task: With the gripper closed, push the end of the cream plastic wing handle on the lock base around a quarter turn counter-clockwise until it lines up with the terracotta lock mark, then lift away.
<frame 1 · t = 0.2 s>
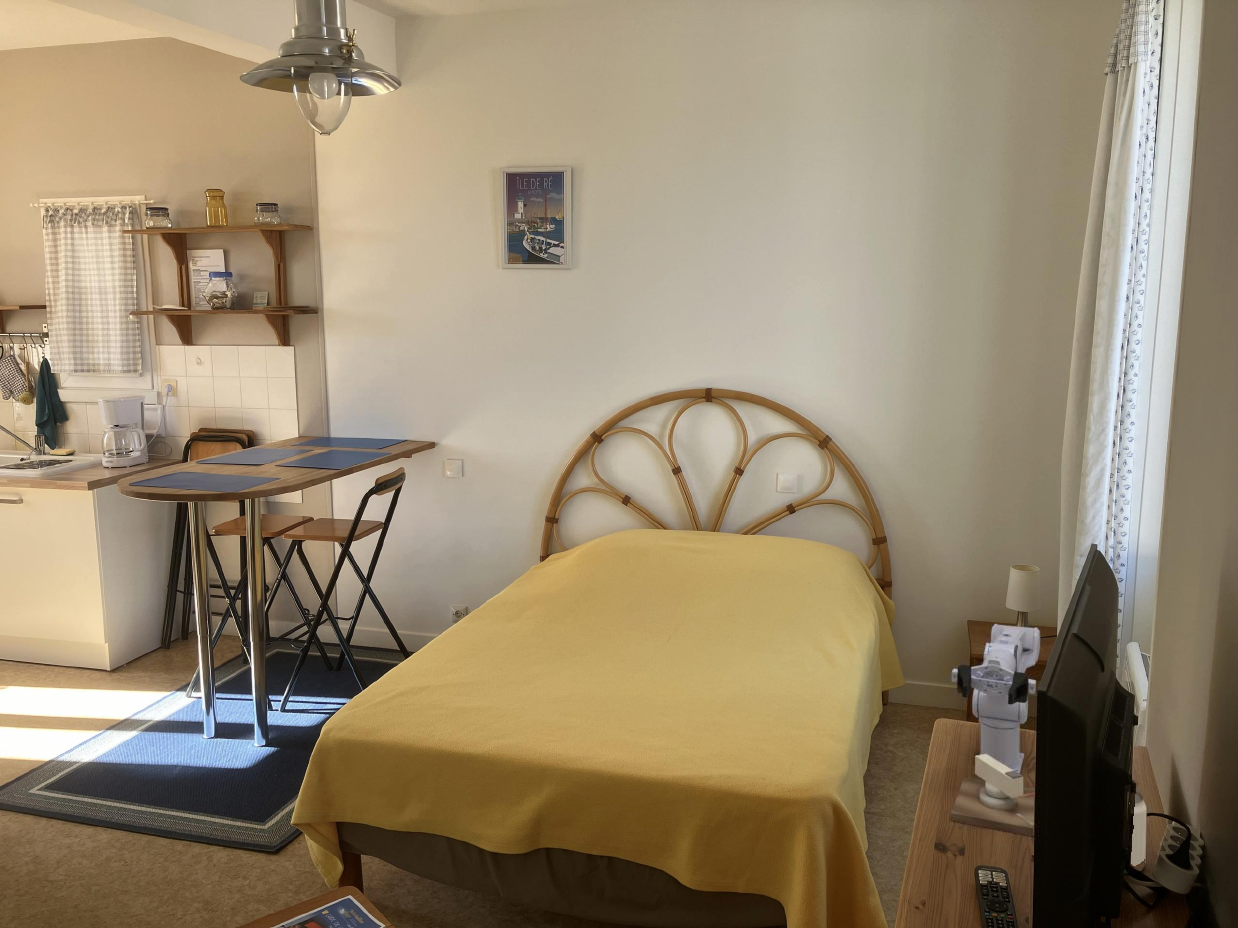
hand: (987, 695, 170), 21 cm above the tv stand, tool horizontal, fingers open, 7 cm apart
can: (1122, 865, 154), on the tv stand
lock base: (998, 809, 173), on the tv stand
lock handle: (998, 778, 172), point 6 cm above the tv stand, hinge at 0.0°
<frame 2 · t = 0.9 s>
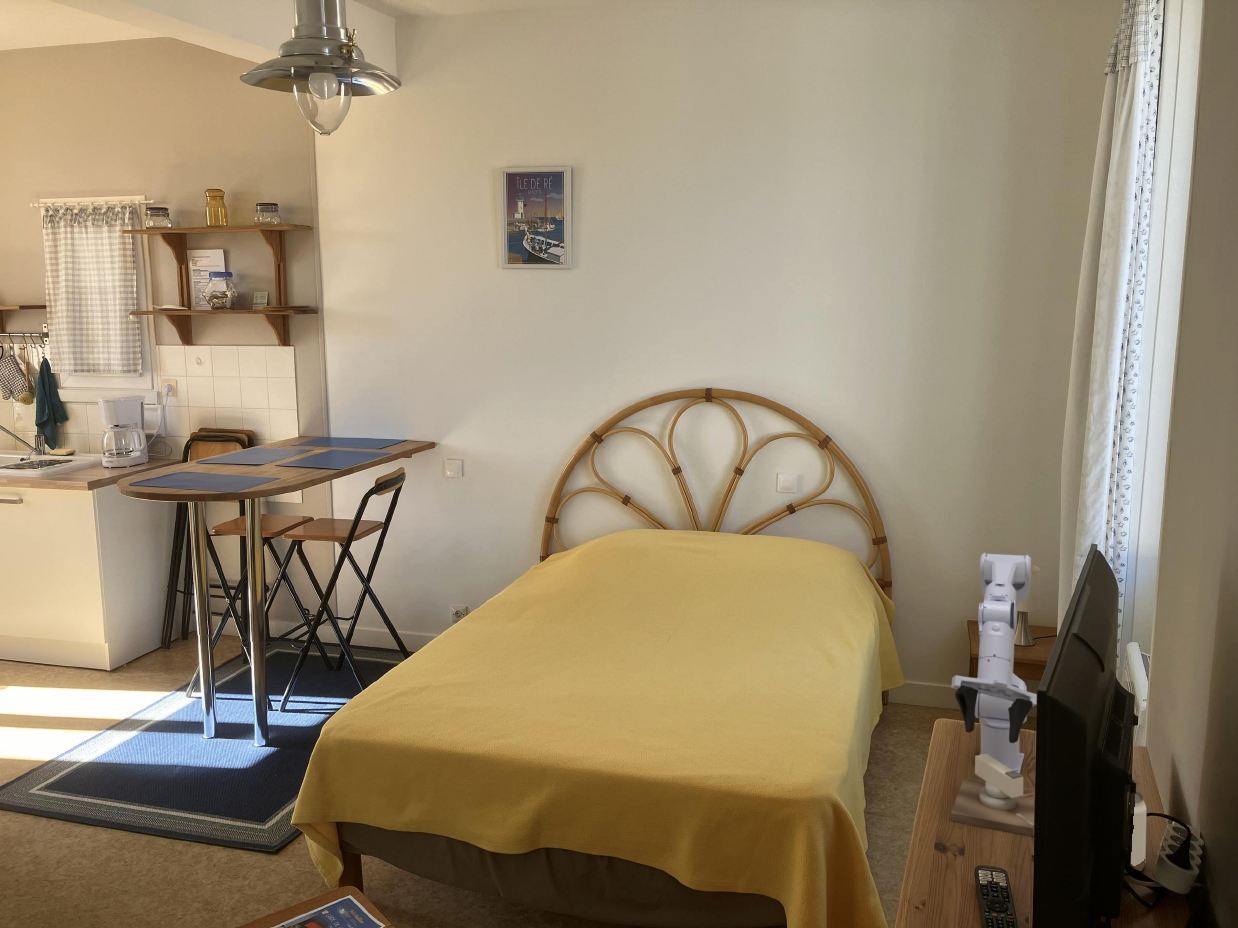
hand: (991, 736, 167), 16 cm above the tv stand, tool tilted 40°, fingers open, 7 cm apart
nothing on the tv stand moved.
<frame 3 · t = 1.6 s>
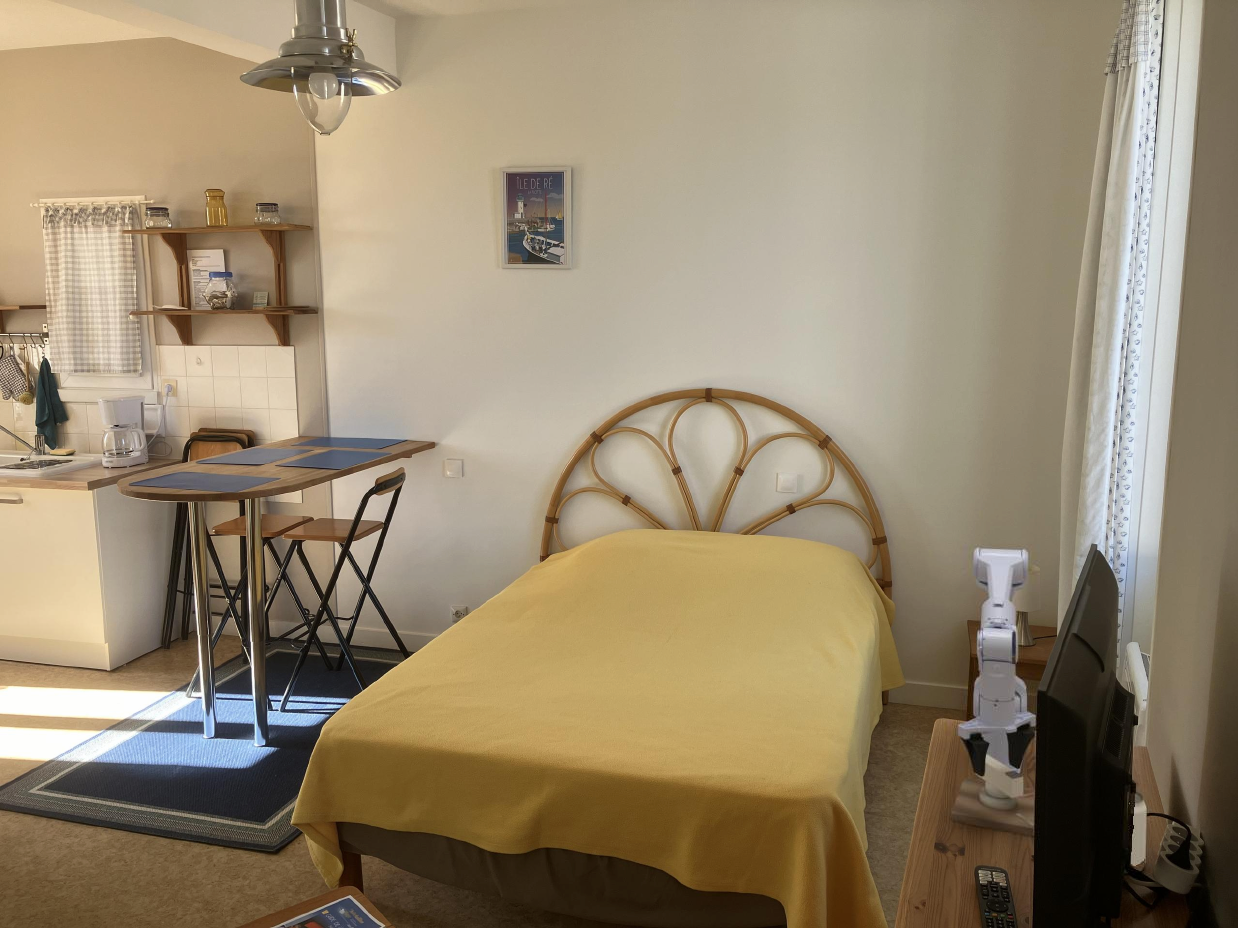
hand: (996, 770, 167), 10 cm above the tv stand, tool pointing down, fingers open, 7 cm apart
nothing on the tv stand moved.
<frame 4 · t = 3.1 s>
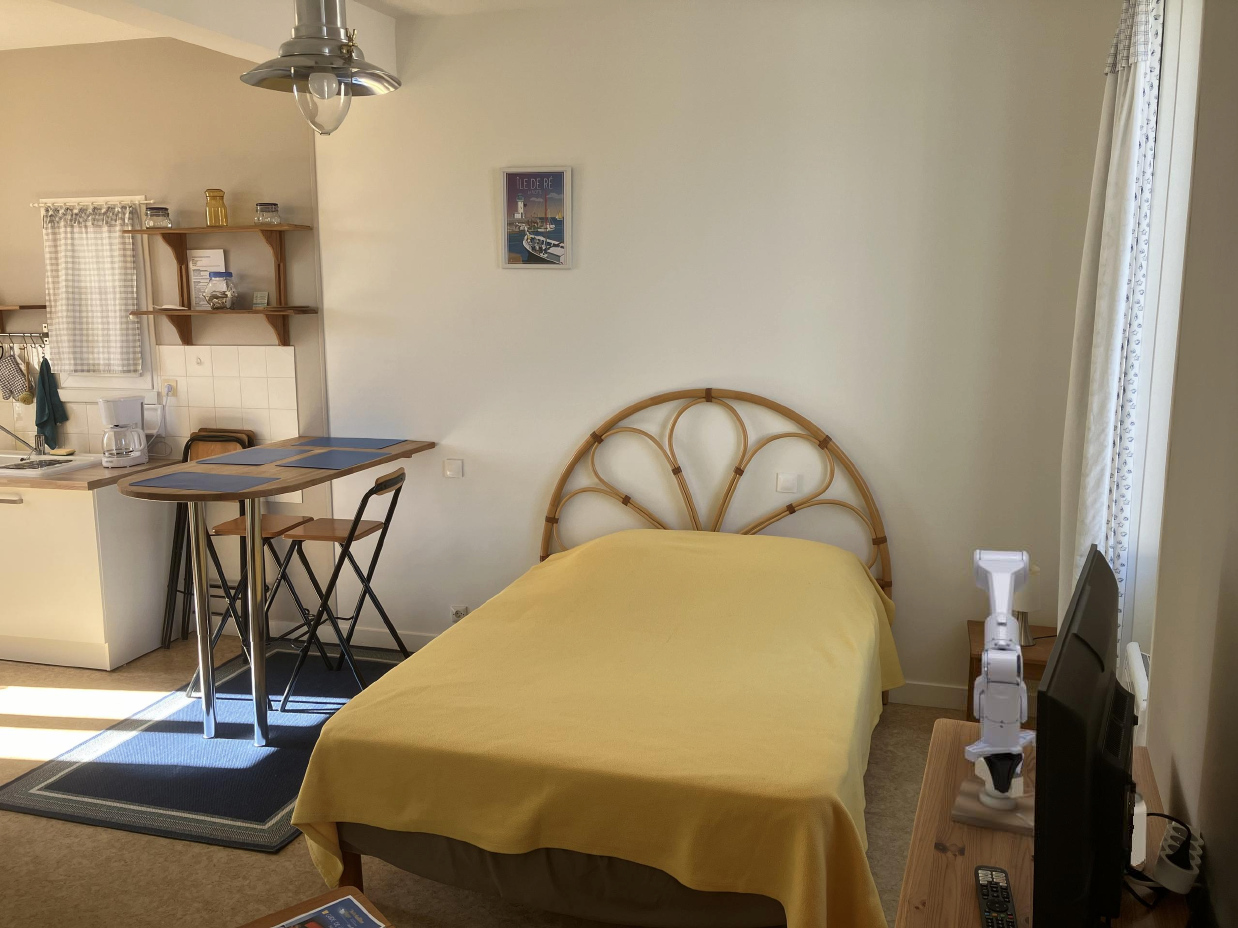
hand: (1001, 790, 167), 6 cm above the tv stand, tool pointing down, fingers closed
lock handle: (998, 778, 172), point 6 cm above the tv stand, hinge at 0.0°, touching gripper
everything else where it was.
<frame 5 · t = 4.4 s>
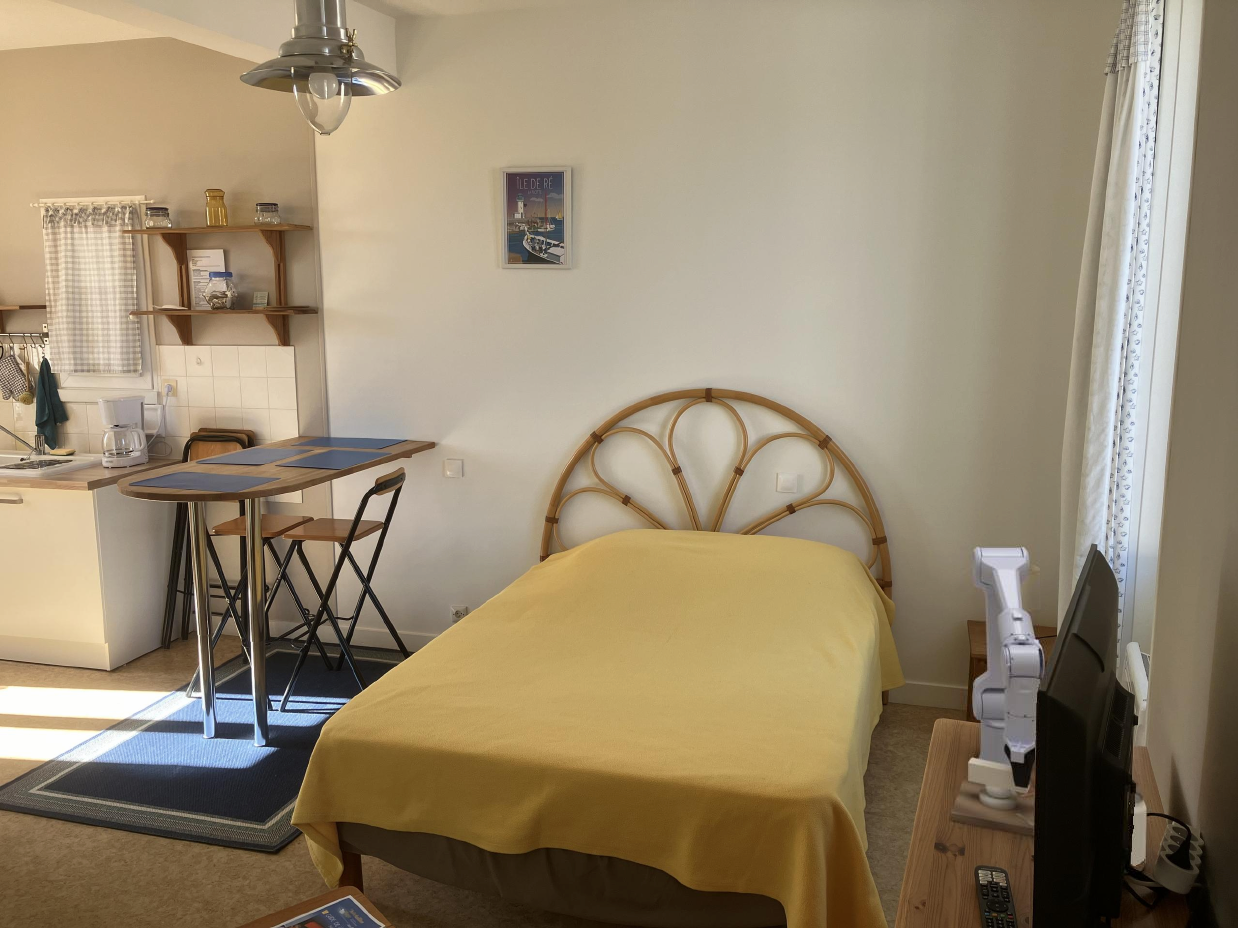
hand: (1021, 785, 168), 6 cm above the tv stand, tool pointing down, fingers closed, pressing on lock handle
lock handle: (998, 778, 172), point 6 cm above the tv stand, hinge at 38.4°, touching gripper
everything else where it was.
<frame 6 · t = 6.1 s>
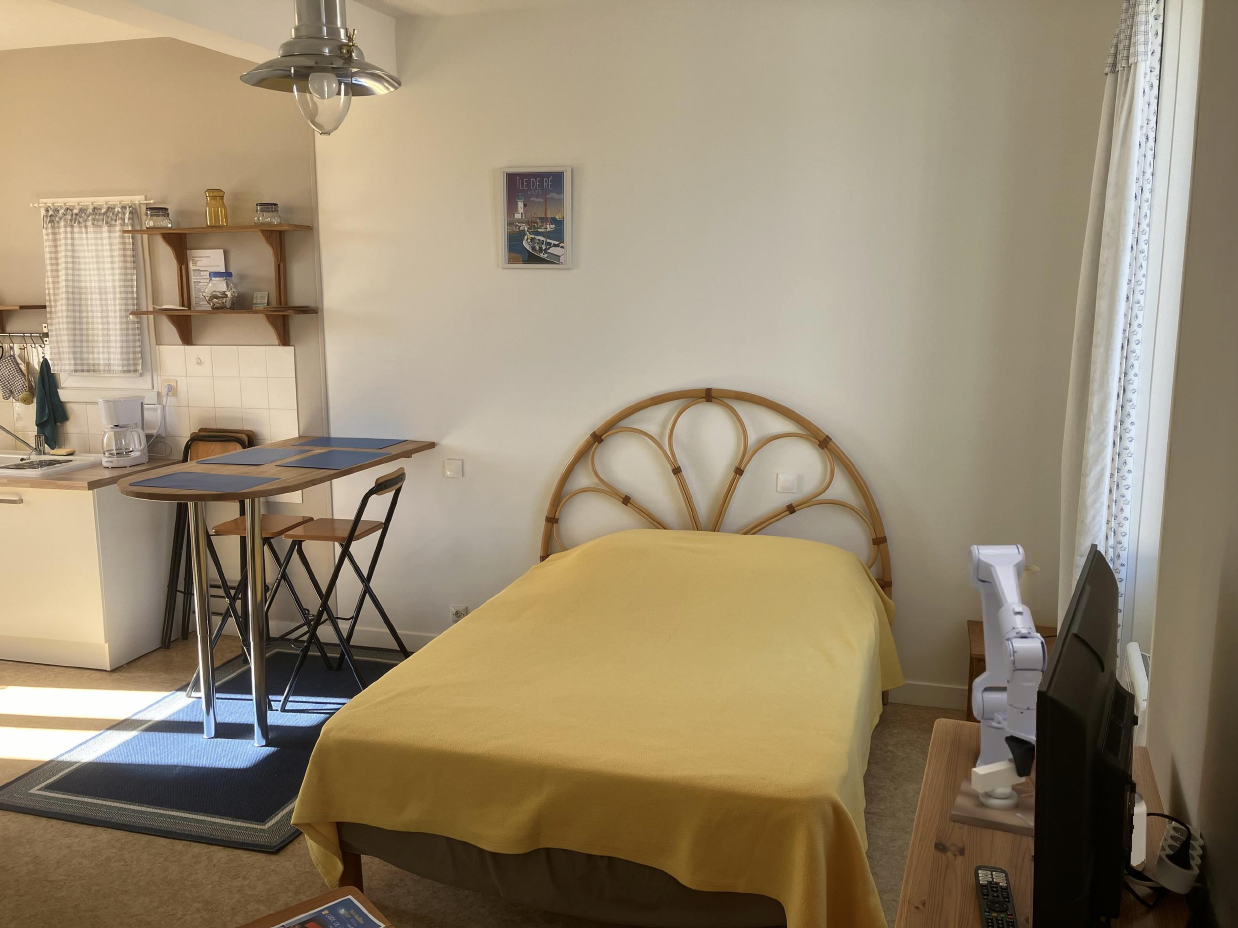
hand: (1023, 775, 171), 7 cm above the tv stand, tool pointing down, fingers closed
lock handle: (998, 778, 172), point 6 cm above the tv stand, hinge at 93.7°, touching gripper
everything else where it was.
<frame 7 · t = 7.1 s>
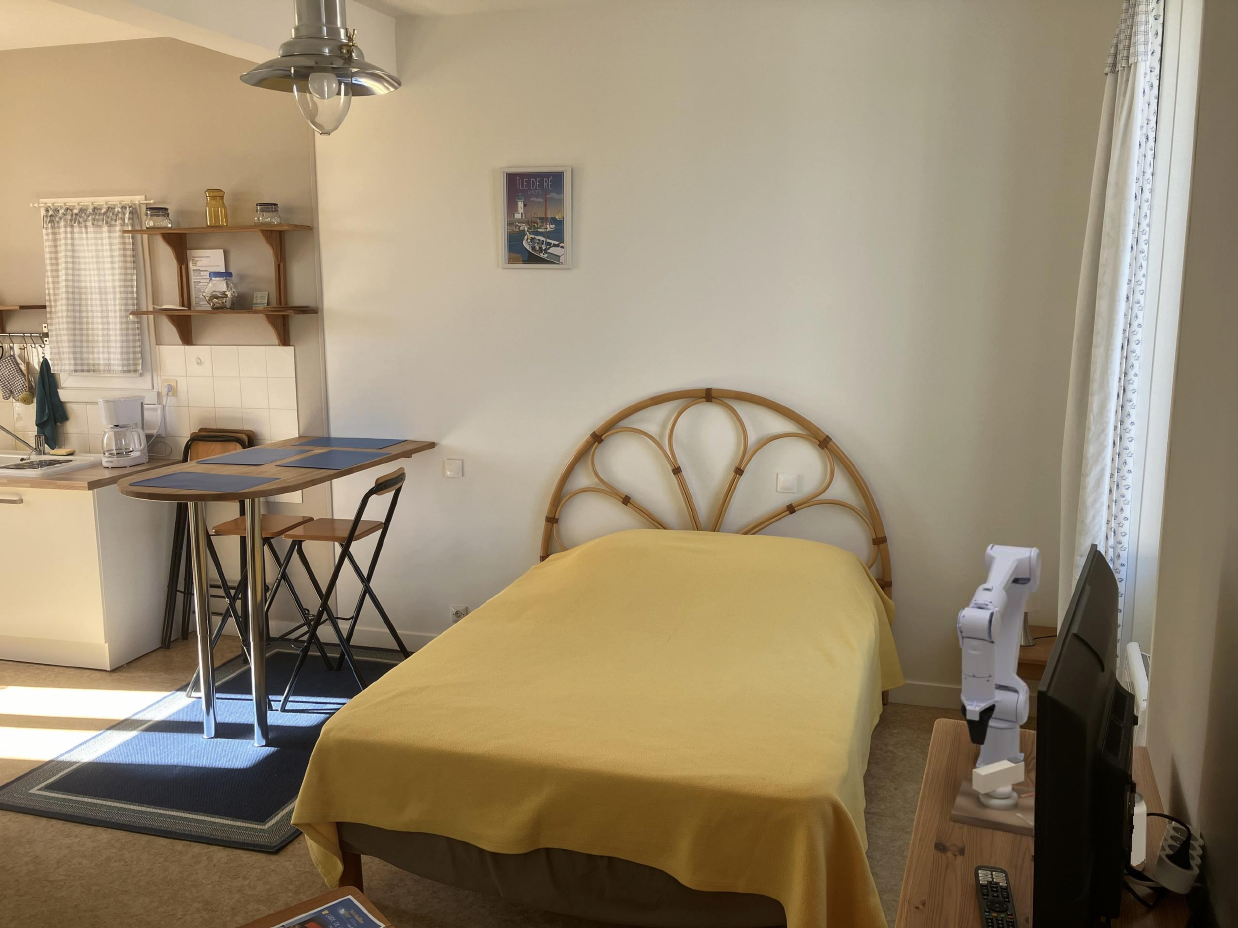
hand: (978, 742, 176), 10 cm above the tv stand, tool pointing down, fingers closed
lock handle: (998, 778, 172), point 6 cm above the tv stand, hinge at 97.7°
everything else where it was.
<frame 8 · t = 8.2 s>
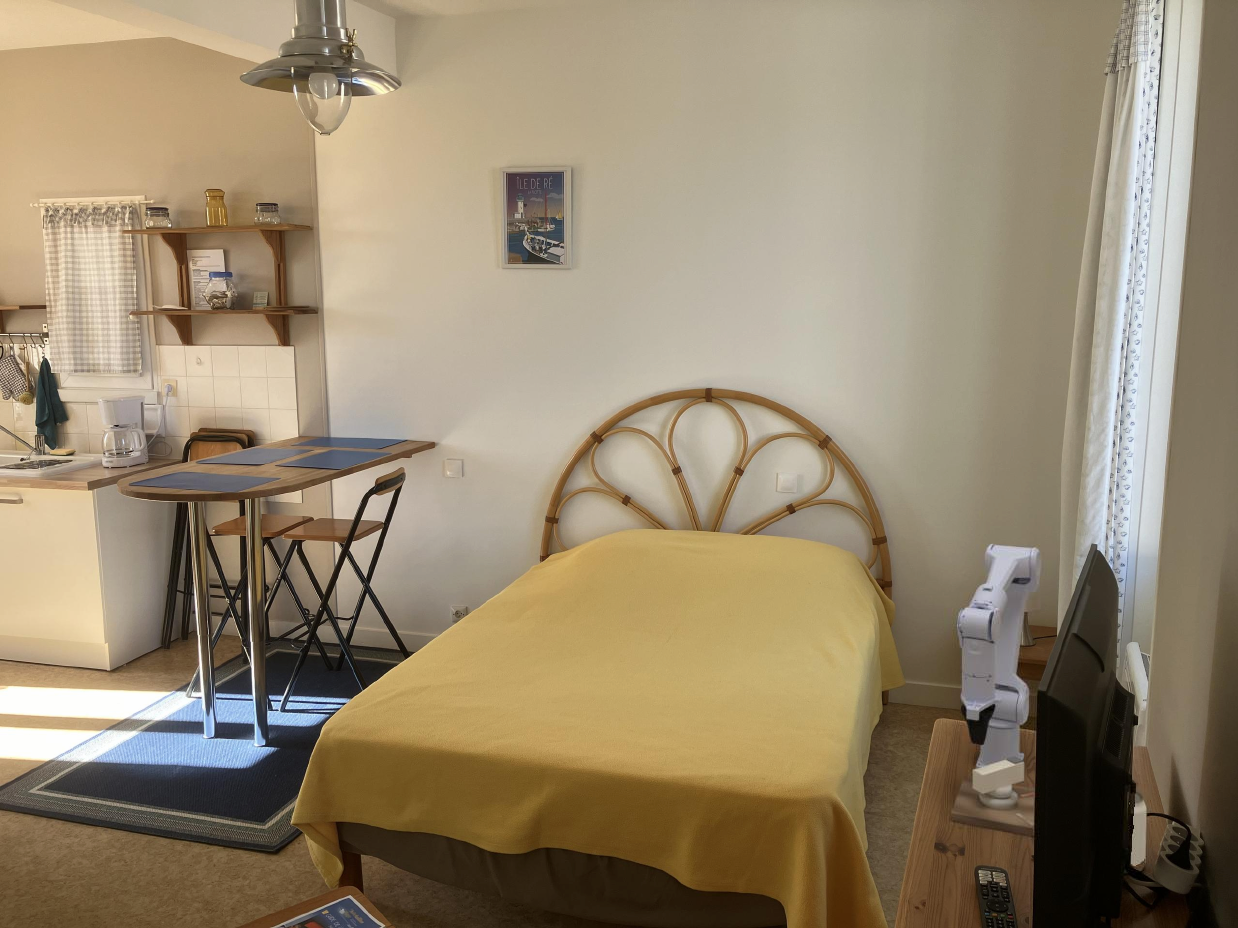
hand: (978, 742, 176), 10 cm above the tv stand, tool pointing down, fingers closed
lock handle: (998, 778, 172), point 6 cm above the tv stand, hinge at 98.3°
everything else where it was.
at the end: lock handle at +98° (first picture: +0°); the gripper is holding nothing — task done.
